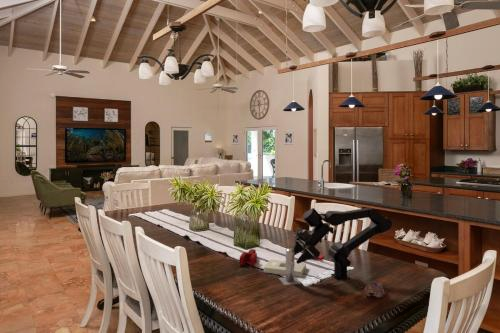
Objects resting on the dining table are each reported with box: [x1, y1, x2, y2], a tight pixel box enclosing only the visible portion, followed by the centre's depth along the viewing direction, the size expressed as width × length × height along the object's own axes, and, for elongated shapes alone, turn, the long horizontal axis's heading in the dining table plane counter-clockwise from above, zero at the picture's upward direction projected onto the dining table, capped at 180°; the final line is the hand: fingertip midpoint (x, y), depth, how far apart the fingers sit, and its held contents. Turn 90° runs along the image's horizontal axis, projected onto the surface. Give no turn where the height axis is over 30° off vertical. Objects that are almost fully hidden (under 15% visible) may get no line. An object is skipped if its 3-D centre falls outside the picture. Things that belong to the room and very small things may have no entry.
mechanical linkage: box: [239, 248, 258, 267], centre depth 182 cm, size 16×7×5 cm, turn 166°
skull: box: [363, 281, 386, 299], centre depth 142 cm, size 12×8×6 cm, turn 134°
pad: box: [278, 276, 302, 286], centre depth 157 cm, size 8×8×1 cm
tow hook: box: [311, 244, 324, 261], centre depth 189 cm, size 8×13×9 cm
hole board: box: [263, 258, 307, 278], centre depth 170 cm, size 18×12×3 cm, turn 71°
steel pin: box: [285, 247, 295, 282], centre depth 156 cm, size 4×4×14 cm
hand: (293, 259), depth 156 cm, fingers open, 9 cm apart
